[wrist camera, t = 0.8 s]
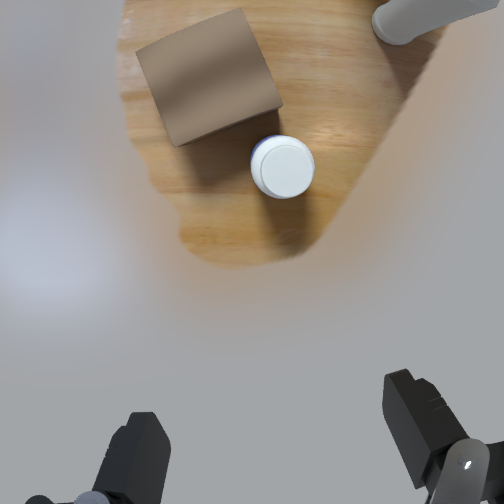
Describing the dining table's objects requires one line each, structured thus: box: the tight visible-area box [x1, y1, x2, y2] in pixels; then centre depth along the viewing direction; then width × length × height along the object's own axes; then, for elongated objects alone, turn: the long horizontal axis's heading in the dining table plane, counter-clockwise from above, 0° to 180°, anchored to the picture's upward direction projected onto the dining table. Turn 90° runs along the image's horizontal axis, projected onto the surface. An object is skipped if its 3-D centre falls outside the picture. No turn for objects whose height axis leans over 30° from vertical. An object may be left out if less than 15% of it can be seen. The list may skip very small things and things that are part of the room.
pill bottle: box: [250, 135, 315, 199], centre depth 28 cm, size 5×5×10 cm
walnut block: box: [135, 8, 283, 148], centre depth 26 cm, size 10×10×6 cm
